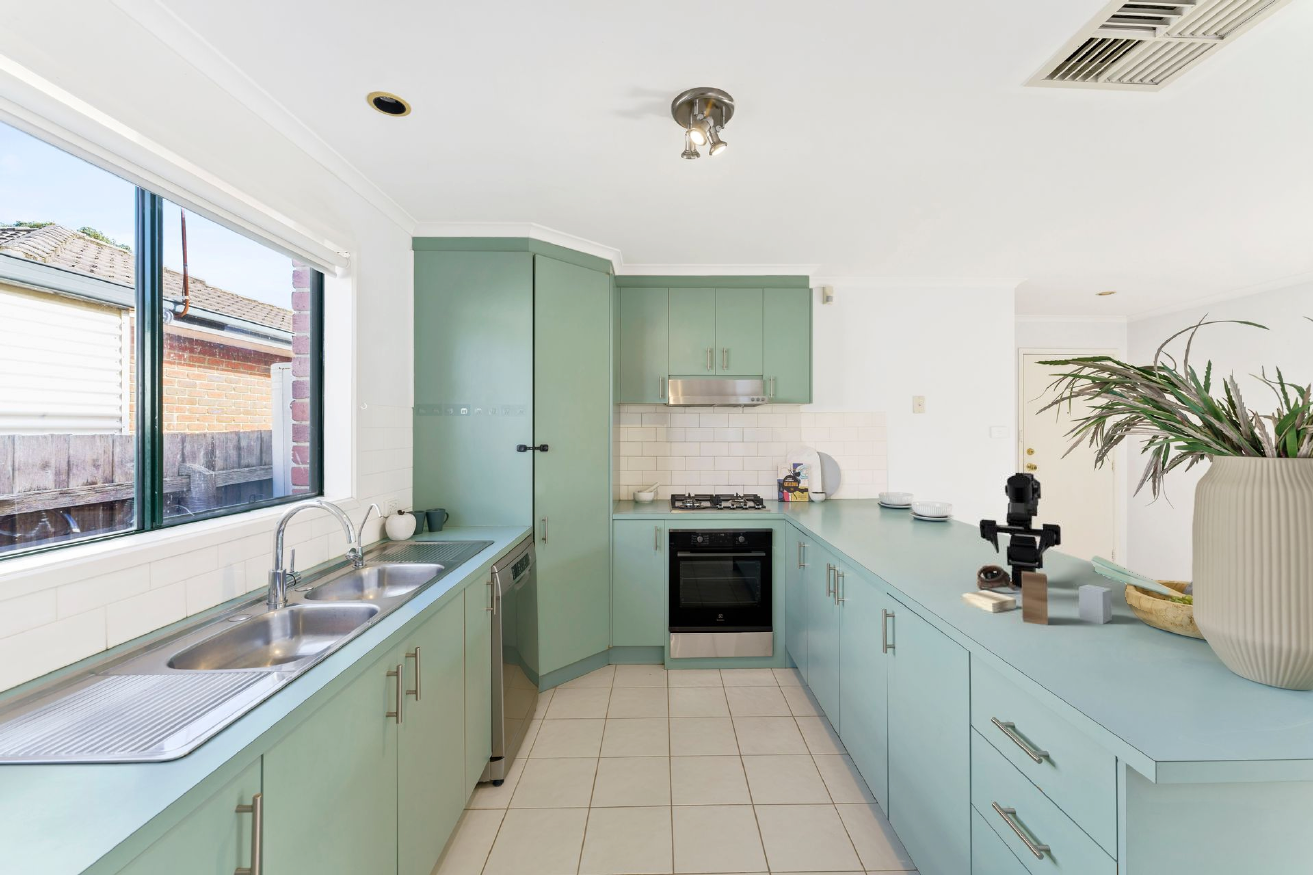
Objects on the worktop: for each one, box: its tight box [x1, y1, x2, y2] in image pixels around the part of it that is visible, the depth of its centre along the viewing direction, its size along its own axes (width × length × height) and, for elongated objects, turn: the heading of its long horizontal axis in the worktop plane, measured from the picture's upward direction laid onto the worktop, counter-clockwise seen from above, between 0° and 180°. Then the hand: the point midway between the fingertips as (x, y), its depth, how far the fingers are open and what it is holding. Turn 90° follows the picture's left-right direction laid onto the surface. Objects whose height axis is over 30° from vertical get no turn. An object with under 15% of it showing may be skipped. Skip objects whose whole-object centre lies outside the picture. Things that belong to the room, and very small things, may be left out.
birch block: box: [962, 589, 1017, 614], centre depth 148 cm, size 9×9×3 cm
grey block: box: [1078, 584, 1113, 625], centre depth 136 cm, size 5×5×8 cm
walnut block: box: [1021, 571, 1049, 626], centre depth 136 cm, size 4×5×12 cm
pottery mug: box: [976, 564, 1015, 592], centre depth 164 cm, size 12×10×8 cm
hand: (1017, 554), depth 144 cm, fingers open, 9 cm apart
